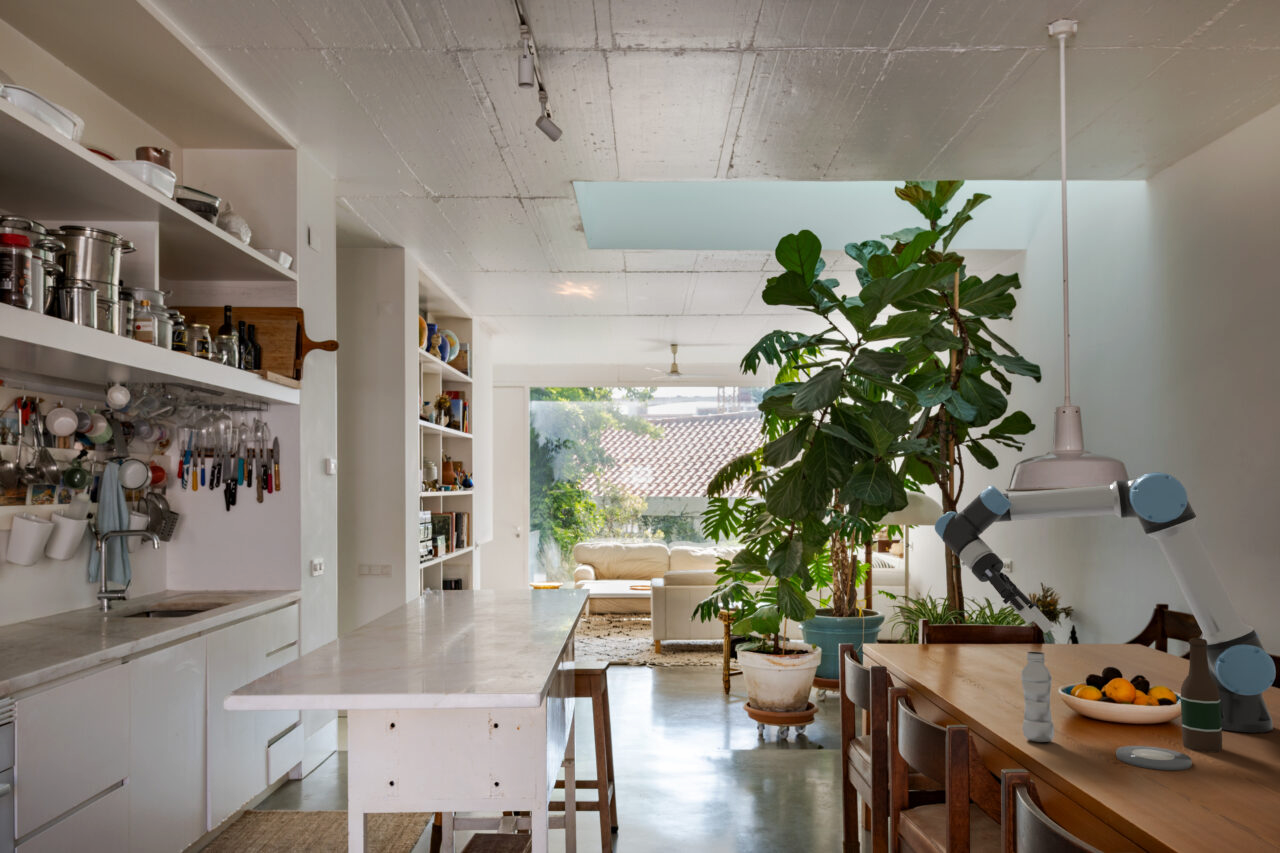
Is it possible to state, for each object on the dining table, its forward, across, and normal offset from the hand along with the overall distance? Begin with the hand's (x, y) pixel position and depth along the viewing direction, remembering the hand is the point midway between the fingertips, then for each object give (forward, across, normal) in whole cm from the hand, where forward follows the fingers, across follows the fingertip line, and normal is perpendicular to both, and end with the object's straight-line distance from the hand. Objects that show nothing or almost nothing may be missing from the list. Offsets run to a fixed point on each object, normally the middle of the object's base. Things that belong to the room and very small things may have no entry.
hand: (1041, 625), depth 223 cm
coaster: (+37, +5, -2) cm, 37 cm away
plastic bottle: (+20, +5, -18) cm, 28 cm away
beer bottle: (+39, -12, +6) cm, 41 cm away
